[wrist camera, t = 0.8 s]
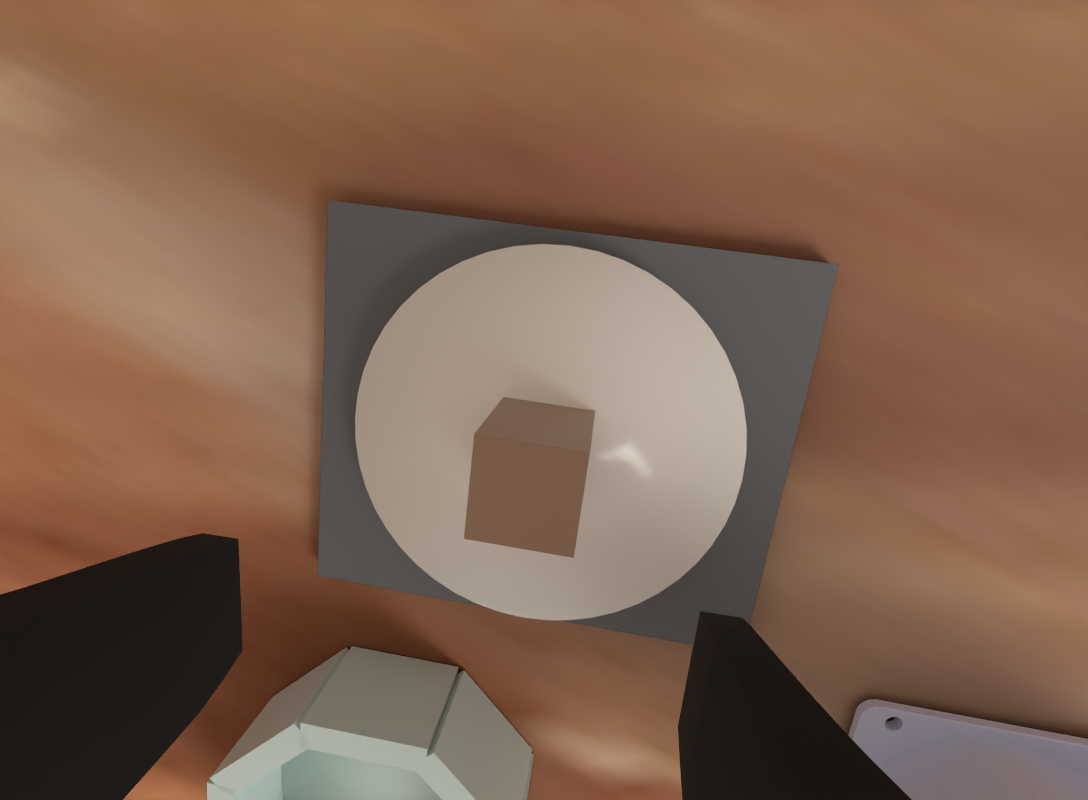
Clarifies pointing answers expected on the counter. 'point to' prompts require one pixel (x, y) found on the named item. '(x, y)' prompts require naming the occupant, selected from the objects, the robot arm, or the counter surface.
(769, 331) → the mat
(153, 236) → the counter surface
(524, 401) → the lid
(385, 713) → the bowl
